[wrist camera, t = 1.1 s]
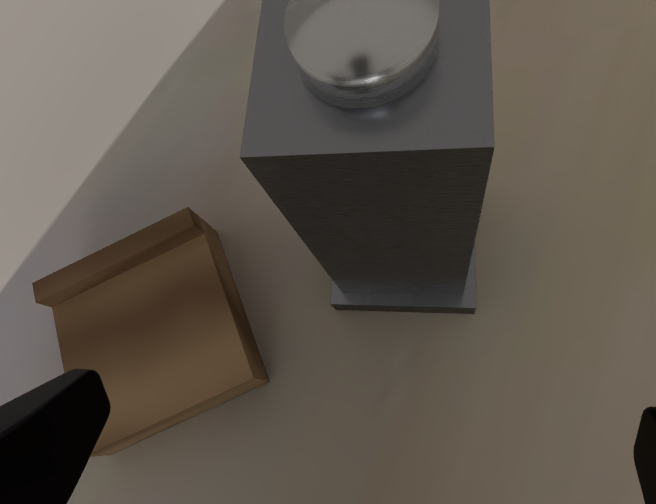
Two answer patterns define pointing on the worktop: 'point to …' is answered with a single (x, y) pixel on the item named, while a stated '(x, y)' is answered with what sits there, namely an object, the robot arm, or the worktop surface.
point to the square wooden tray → (155, 327)
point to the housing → (377, 142)
